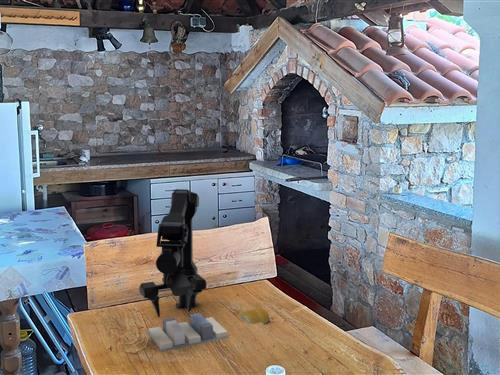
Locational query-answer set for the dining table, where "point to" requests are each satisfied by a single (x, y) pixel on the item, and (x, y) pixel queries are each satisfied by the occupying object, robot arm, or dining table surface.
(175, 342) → the grey white bar
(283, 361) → the dining table surface
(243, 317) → the bread roll
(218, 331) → the rack
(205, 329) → the grey rectangular bar
